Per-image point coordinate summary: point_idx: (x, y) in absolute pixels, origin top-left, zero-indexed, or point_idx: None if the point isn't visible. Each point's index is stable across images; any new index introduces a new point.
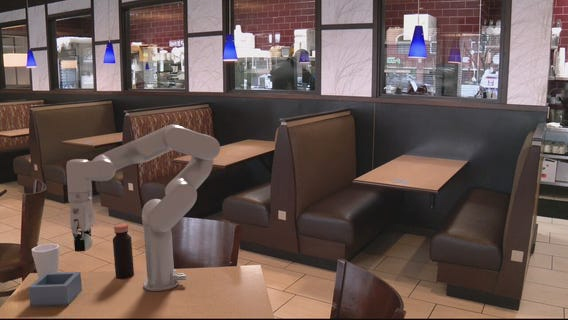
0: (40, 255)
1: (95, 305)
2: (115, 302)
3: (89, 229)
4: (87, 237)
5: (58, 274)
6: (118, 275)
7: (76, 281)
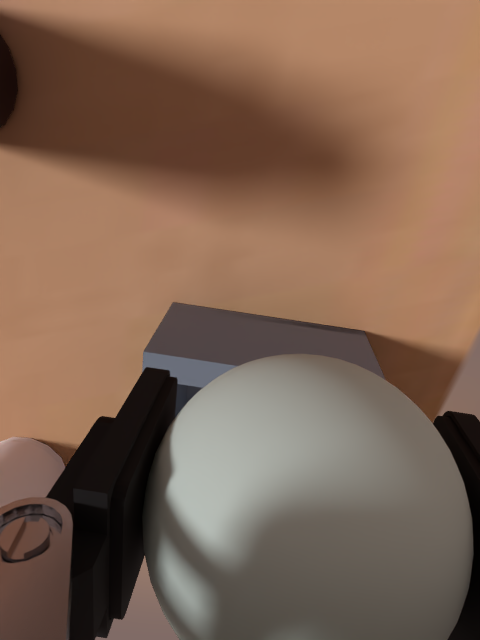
0: None
1: (410, 188)
2: (409, 61)
3: (66, 625)
4: (414, 524)
5: None
6: (2, 108)
7: (229, 347)
